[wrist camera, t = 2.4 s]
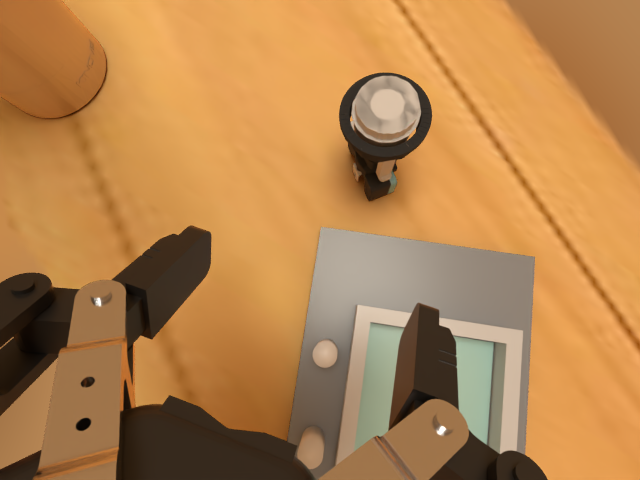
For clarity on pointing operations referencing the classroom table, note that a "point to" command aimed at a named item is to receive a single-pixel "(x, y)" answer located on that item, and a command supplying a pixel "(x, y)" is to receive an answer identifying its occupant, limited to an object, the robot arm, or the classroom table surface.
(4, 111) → the classroom table surface
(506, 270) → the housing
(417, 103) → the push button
